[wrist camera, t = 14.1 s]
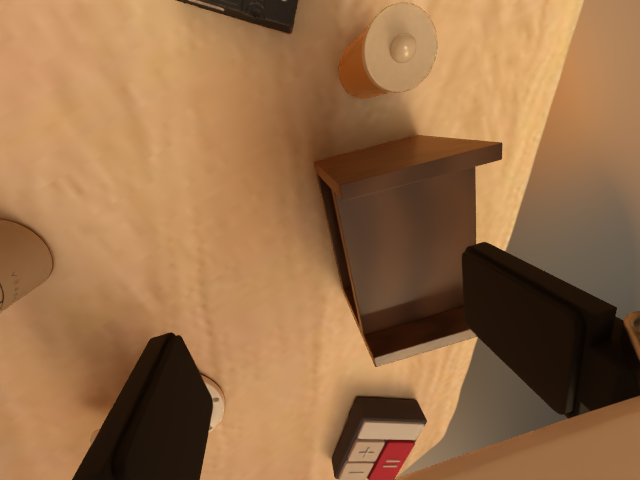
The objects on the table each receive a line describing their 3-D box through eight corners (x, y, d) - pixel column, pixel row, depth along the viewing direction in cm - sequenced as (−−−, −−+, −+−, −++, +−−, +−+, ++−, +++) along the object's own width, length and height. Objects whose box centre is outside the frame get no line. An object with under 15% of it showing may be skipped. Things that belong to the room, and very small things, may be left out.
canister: (343, 105, 30) (376, 98, 21) (332, 44, 28) (363, 5, 19) (393, 93, 31) (448, 80, 21) (386, 31, 29) (444, -13, 19)
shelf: (342, 292, 39) (375, 367, 27) (313, 161, 32) (339, 185, 20) (428, 267, 40) (497, 330, 28) (417, 134, 33) (502, 142, 21)
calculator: (334, 484, 48) (363, 423, 42) (330, 456, 52) (356, 396, 46) (395, 483, 50) (430, 425, 45) (386, 456, 54) (418, 399, 49)
